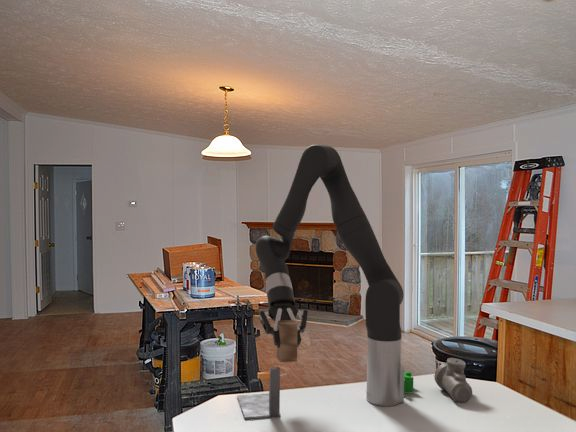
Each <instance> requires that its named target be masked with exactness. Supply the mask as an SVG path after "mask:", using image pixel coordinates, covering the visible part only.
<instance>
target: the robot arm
mask: <svg viewBox="0 0 576 432" xmlns="http://www.w3.org/2000/svg"><path fill="white" fill-rule="evenodd" d="M346 173H347V171H346V170H345V167H344V163H343V162H342V157H341V156H340V154H339V153H338V151H337V150H336V149H335V148H334V147H333V146H331V145H328V144H327V145H326V144H312V145H309V146H308V147H306V148H305V150H304V151H303V153H302V155H301V157H300V158H299V163H298V165H297V169H296V172H295V175H294V177H293V180H292V183H291V185H290V188H289V191H288V194H287V196H286V198H285V199H284V202H283V205H282V207H281V208H280V210H279V212H278V214H277V215H276V218H275V220H274V222H273V225H272V229H273V231H274V232H275V233H276V234H277V235H279V236H280V237H281V238H277V237H273V236H271V235H270V236H269V235H262V236H261V237H259V238H258V240H257V241H256V243H255V253H256V256H257V258H258V261H259V263H260V265H261V267H262V269H263V271H264V274H265V277H264V278H265V290H266V291H265V293H266V297H267V304H268V309H267V311H263V310H261V311H260V312H259V315H258V319H259V321H260V324H261V326H262V328H263V329H264V332H265V334H266V335H269V334H270V335H272V338H273V339H272V340H273V344H274V346H276V349H277V348H279V347H280V344H281V343H280V336H279V331H278V321H280V320H294V321H295V322H297V323H298V321H297V319H296V317H297V316H298V317H299V318H298V319H299V320H301V321H300V325H298V327H297V348H299V346H300V345H301V342H302V337H301V333H302V334H303V333H305V329H306V327H307V321H308V315H309V313H308V312H309V311H308V310H307V309H304V310H299V309H298V307H297V306H296V301H295V296H294V290H293V286H292V285H293V284H292V280H291V277H290V272H289V268H288V264H287V263H286V260H287V259H288V258H289V256H290V254H291V247H292V244H293V239H294V236H295V233H296V232H297V229H298V227H299V225H300V224H301V222H302V220H303V218H304V216H305V213H306V209H307V203H308V199H309V196H310V192H311V191H312V189H313V187H314V185H315V184H316V182H317V181H318V180H319V178H320V180H321V181H322V183H323V185H324V188H325V189H326V191H327V193H328V196H329V200H330V208H331V209H330V210H331V217H332V221H333V225H334V227H335V229H336V231H337V234H338V236H339V238H340V240H341V242H342V244H343V245H344V247H345V249H346V250H347V251H348V252H349V253H350V255H351V256H352V258H353V259H354V260H355V261H356V262H357V264H358V265H359V267H360V269H361V270H362V272H363V274H364V277H365V279H366V283H367V285H368V288H367V289H366V293H365V302H364V303H365V308H364V309H365V327H366V334H367V335H366V336H367V337H366V339H367V340H366V350H367V351H366V400H367V401H368V402H369V403H371V404H373V405H377V406H382V407H383V406H384V407H391V406H396V405H399V404H401V403H404V401H405V400H404V399H405V396H404V372H405V368H404V366H403V365H402V327H401V322H400V320H401V315H400V314H401V308H400V307H401V304H402V303H403V300H404V290H403V287H402V285H401V283H400V281H399V280H398V278H397V276H396V275H395V274H394V272H393V270H392V269H391V267H390V265H389V263H388V262H387V260H386V258H385V256H384V254H383V252H382V249H381V246H380V243H379V241H378V239H377V236H376V234H375V232H374V230H373V227H372V226H371V224H370V221H369V219H368V217H367V215H366V213H365V211H364V209H363V207H362V205H361V203H360V201H359V199H358V197H357V195H356V193H355V191H354V190H353V187H352V185H351V183H350V180H349V178H348V174H346ZM269 318H270V319H271V320H272V321H273V322H274V324H273V326H272V325H271V323H270V322H269V320H268V319H269Z"/></svg>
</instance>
